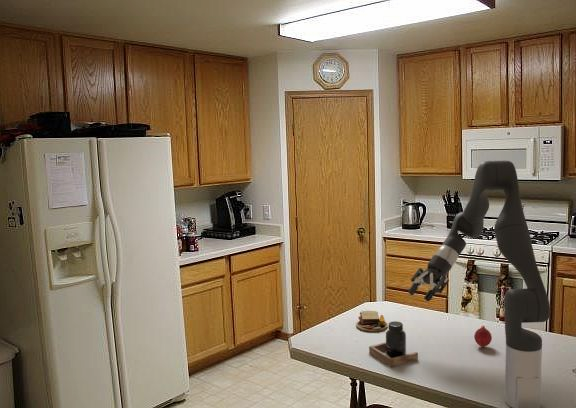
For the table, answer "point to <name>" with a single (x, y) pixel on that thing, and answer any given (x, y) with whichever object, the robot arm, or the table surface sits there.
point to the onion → (483, 337)
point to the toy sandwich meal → (371, 321)
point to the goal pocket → (392, 362)
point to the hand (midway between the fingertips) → (417, 296)
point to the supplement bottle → (395, 340)
